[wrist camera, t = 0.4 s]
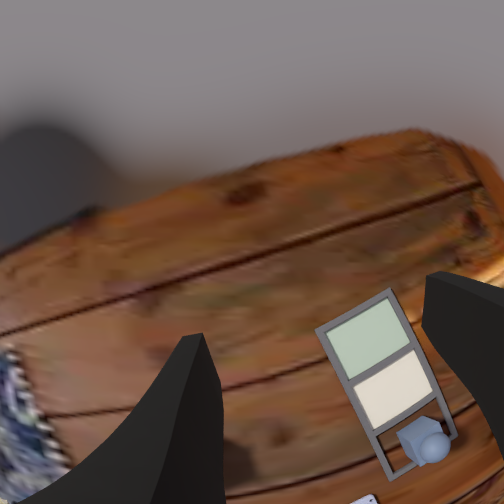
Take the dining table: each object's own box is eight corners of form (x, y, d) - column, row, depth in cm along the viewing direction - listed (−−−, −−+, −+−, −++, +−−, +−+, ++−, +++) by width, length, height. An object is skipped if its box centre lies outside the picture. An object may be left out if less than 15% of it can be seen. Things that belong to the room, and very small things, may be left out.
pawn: (432, 438, 29) (461, 453, 21) (406, 455, 29) (431, 475, 21) (422, 415, 30) (451, 426, 22) (396, 432, 30) (420, 449, 22)
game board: (456, 434, 28) (458, 435, 28) (388, 480, 28) (389, 481, 27) (388, 288, 36) (389, 287, 36) (314, 329, 36) (314, 329, 35)
